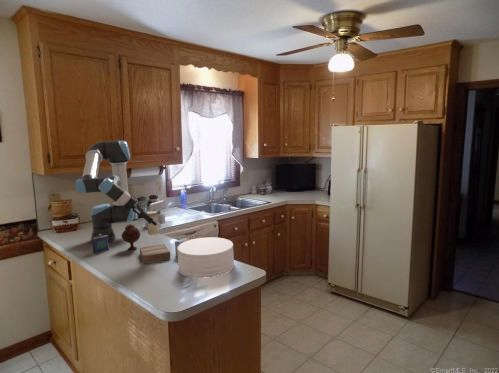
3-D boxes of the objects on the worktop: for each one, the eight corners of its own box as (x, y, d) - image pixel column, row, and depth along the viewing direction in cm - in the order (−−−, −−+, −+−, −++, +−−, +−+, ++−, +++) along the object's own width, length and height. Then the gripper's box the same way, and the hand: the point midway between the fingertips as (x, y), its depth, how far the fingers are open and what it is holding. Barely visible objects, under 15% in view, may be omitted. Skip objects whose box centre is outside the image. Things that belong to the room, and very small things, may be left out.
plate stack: (239, 258, 186) (239, 238, 184) (224, 280, 159) (223, 256, 157) (191, 256, 192) (190, 236, 190) (169, 276, 165) (167, 253, 164)
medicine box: (186, 252, 198) (185, 237, 197) (191, 253, 196) (190, 239, 194) (175, 256, 192) (174, 241, 191) (180, 257, 189) (179, 242, 188)
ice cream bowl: (118, 251, 203) (116, 226, 200) (131, 245, 213) (129, 222, 211) (133, 253, 199) (131, 228, 197) (145, 247, 209) (143, 223, 207)
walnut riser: (140, 254, 196) (139, 247, 196) (164, 250, 202) (164, 243, 202) (144, 263, 182) (143, 256, 182) (170, 258, 188) (170, 251, 187)
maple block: (147, 233, 191) (146, 212, 190) (157, 231, 193) (155, 211, 192) (149, 235, 187) (147, 213, 185) (158, 234, 189) (157, 212, 187)
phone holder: (156, 221, 273) (155, 199, 270) (166, 222, 268) (165, 199, 265) (141, 226, 257) (139, 203, 254) (151, 228, 253) (150, 204, 250)
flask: (107, 248, 208) (106, 231, 206) (110, 249, 206) (108, 232, 204) (92, 253, 201) (90, 235, 199) (94, 254, 199) (93, 236, 198)
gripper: (120, 203, 189) (152, 228, 199) (122, 209, 173) (158, 236, 182) (129, 193, 191) (161, 218, 200) (133, 198, 174) (167, 225, 184)
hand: (159, 226), depth 191 cm, fingers closed on maple block, 5 cm apart
